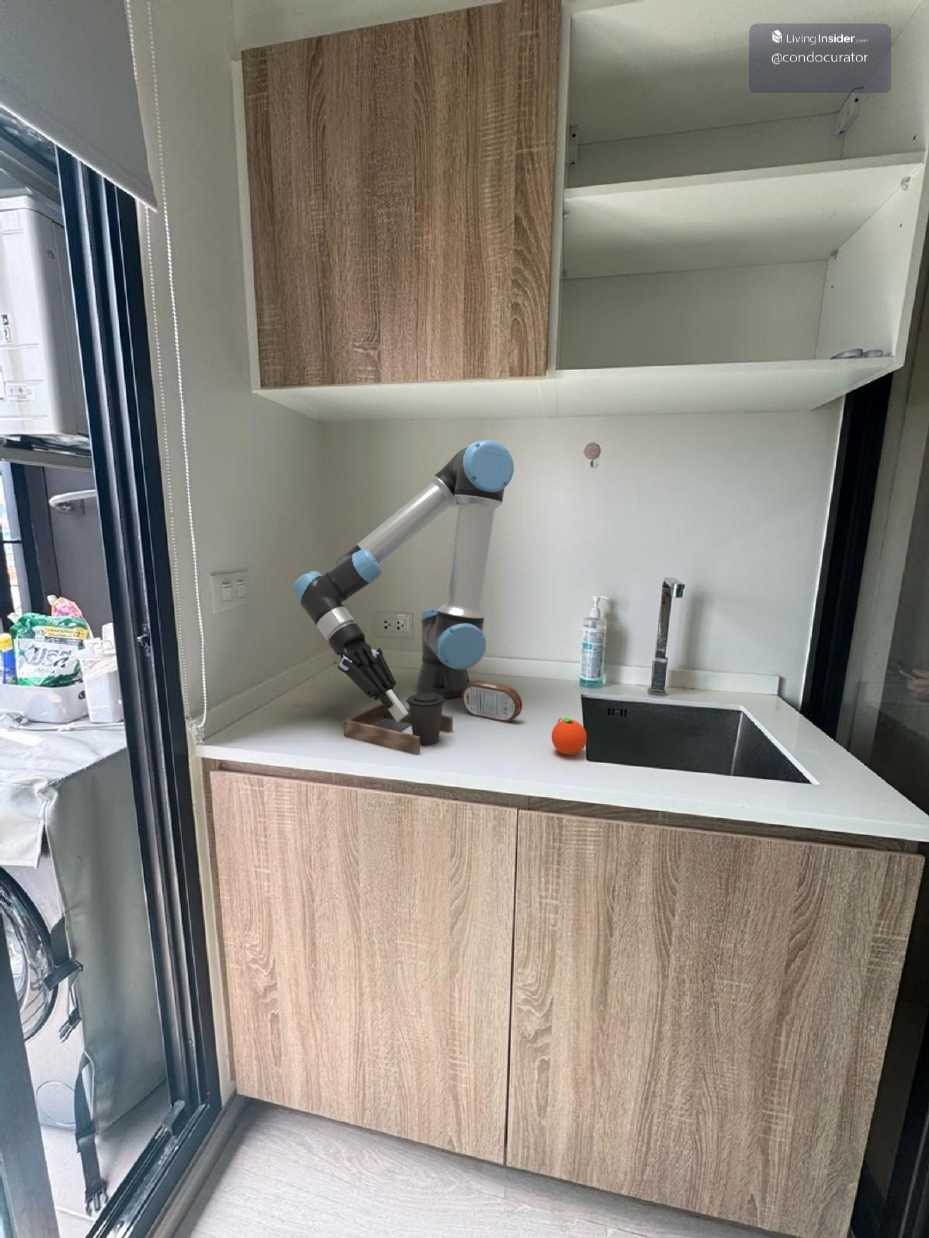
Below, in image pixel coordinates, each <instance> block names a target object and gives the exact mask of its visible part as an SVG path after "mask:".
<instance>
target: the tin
mask: <svg viewBox="0 0 929 1238" xmlns="http://www.w3.org/2000/svg"><path fill="white" fill-rule="evenodd" d="M461 698H462V704H463V706H464V708H465V710H466V711H467V712H468V713H469V714H472V716H474V717H479V718H484V719H489V720H493V721H497V722H502V723H508V722H511V721H513V720H514V719H516V718H517V717H519V715H521V713H522V710H523V702H522V698H521V696H520V694H519V693H518V692H517V690H515V688H513V687H512V686H509V685H504V684H501V683H500V684H498V683H493V682H488V681H485V680H484V681H482V680H473V681H472V682H470V684H469V685H468V686H467V687H466V688H465V689H464V690H463V694H462V696H461Z"/></svg>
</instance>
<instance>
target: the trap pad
mask: <svg viewBox="0 0 929 1238" xmlns="http://www.w3.org/2000/svg"><path fill="white" fill-rule="evenodd" d="M372 725H373V726H377V727H381V728H386V729H390V730H394V731H398V732H403V731H404V730H406V729H407V728H409V727H412V725H411V724H409V723H404V722H400V721H399V722H397V721H395V720H391V719H385V718H384V719H382V720H380V721H378V722H376V723H374V724H372Z"/></svg>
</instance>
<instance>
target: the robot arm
mask: <svg viewBox="0 0 929 1238" xmlns="http://www.w3.org/2000/svg"><path fill="white" fill-rule="evenodd" d="M514 469H515V467H514V460H513V457H512V454H511V453H510V451H509V450H508V449H507V448H506V446H504V445H503V444H502V443H500V442H498V441H495V440H491V439H490V440H489V439H483V440H477V441H475V442H473V443H471V444H470V445H469V446H466V447H465V448H462V449H461V450H459V451H458V452H456V453H455V455H454V456H453V457H451V459H450V460H449V461H448V462H447V463H446V464H445V465H444V466H443V468H441V469H440V470H438V472H437V473H436V474H434V475H433V476H432V477H431V483H430V484H429V485H427V486H426V487H425V488H424V489H423V490H421V491H420V492H418V493H417V495H415V496H414V497H413V498H412V499H410V500H409V501H408V502H407V503H405V505H403V506H401V508H399V509H398V510H397V511H395V513H394V514H392V515H391V516H389V518H388V519H386V520H385V521H384V522H383V523H381V524H380V525H379V526H377V527H376V528H375V529H374V530H373V531H372V532H370V533H369V534H368V535H367V536H366V537H364V538H363V539H362V540H361V541H359V542H358V543H357V544H356V545H355V546H354V547H352V548H351V549H349V551H348V552H346V553H344V554H342V555H341V556H339V557H338V558H337V560H336V562H335V564H334V567H333V568H332V569H331V570H329V571H328V572H326V573H324V574H321V573H320V572H319V571H317V570H313V571H312V570H311V571H309V572H308V573H304V574H302V575H301V576H300V577H299V578H297V579H296V581H295V582H294V585H293V587H292V591H293V594H294V596H295V597H296V598H297V600H298V601H299V603H300V604H299V605H301V606H302V608H303V610H304V611H305V612H306V614H307V615H308V616H309V618H310V619H311V620H312V622H313V623H314V624H315V625H316V627H317V628H318V630H319V631H320V633H321V634H322V635H323V637H324V638H325V639H326V641H328V644H329V646H330V648H331V649H332V651H333V652H334V653H335V654H336V655H337V656H340V659H341V661H340V663H339V664H338V665H337V669H338V670H339V671H340V672H342V673H344V674H346V675H347V677H348V678H350V680H352V682H354V684H355V685H356V686H357V687H358V688H359V689H360V690H361V691H362V692H363V693H364V694H365V695H366V696H367V697H368V698H369V699H372V698H373V700H374V701H377V700H380V703H382V704H383V705H384V707H385V708H386V709H388V710H389V711H390V713H391V714H392V716H393V717H394V718H395V720H396V721H397V722H399V721H401V720H402V719H403V718H404V717H405V716H406V715H408V714H409V713H408V712H407V710H406V709H405V708H404V707H405V706H404V705H403V703H402V702H401V699H400V698H399V696H398V695H397V694H396V692H395V691H394V687H395V686H396V684H397V681H396V679H395V677H394V676H393V673H392V672H391V671H392V670H391V669H390V668H389V665H388V663H387V662H386V659H385V657H384V653H383V649H381V648H377V649H373V648H372V646H370V644H368V643H367V642H366V639H365V638H366V636H365V633H364V632H363V630H362V629H361V628H360V626H359V625H358V623H356V620H355V619H354V617H353V616H352V615H351V613H350V612H349V611H348V610H347V608H346V607H345V605H343V603H344V602H345V601H347V600H348V599H349V598H350V597H352V596H354V595H355V594H356V593H358V592H360V591H361V590H362V589H364V588H365V587H367V586H368V585H370V584H373V583H374V581H375V580H376V579H378V578H379V577H380V576H381V575H382V574H383V569H382V567H381V564H383V563H384V562H385V561H386V560H388V558H390V557H391V556H392V555H393V554H395V552H397V551H398V550H400V549H401V548H402V547H403V546H404V545H406V543H408V542H409V541H410V540H411V539H413V538H414V537H415V536H417V535H418V534H419V533H420V532H421V531H422V530H423V529H425V528H426V527H427V526H428V525H429V524H431V523H432V522H434V521H435V520H436V519H437V518H438V517H440V516H441V515H442V514H443V513H444V512H445V511H447V510H448V509H449V508H450V507H451V508H456V507H458V511H457V518H456V525H455V526H456V527H455V532H454V539H453V545H452V551H451V552H452V553H451V560H450V566H449V567H450V568H449V574H448V579H447V580H448V581H447V586H446V587H447V589H446V594H445V599H444V601H445V602H444V604H442V605H441V606H440V607H437V608H426V609H424V610H423V611H422V612H421V619H420V621H421V666H420V668H419V672H418V675H417V676H418V677H417V680H416V681H415V692H416V694H419V693H431V692H433V693H436V694H439V695H441V696H443V697H444V699H451V698H453V699H454V698H459V697H462V694H463V690H464V689H465V688H466V687H467V686H468V685H469V684H470V683H471V680H470V676H469V673H468V671H467V670H468V669H470V668H472V667H474V666H476V664H478V663H479V662H480V661H481V660H482V659H483V656H484V654H485V653H486V647H487V640H486V637H485V634H484V632H483V631H484V630H483V629H484V622H485V615H484V613H483V612H482V611H481V600H482V593H483V589H484V588H483V587H484V582H485V581H484V580H485V576H486V569H487V561H488V556H489V548H490V543H491V537H492V531H493V524H494V516H495V511H496V510H497V509H498V508H500V506H501V505H503V500H504V493H505V488H506V487H508V485H509V483H510V482H511V480H512V478H513V476H514Z"/></svg>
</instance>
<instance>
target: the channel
mask: <svg viewBox="0 0 929 1238" xmlns="http://www.w3.org/2000/svg"><path fill="white" fill-rule="evenodd" d="M404 708H405V709H406V710H407V712H408V713H409V714H408V715H406V716H405V717H404V718H403V719H402V720H401V721H400V722H404V723H409V724H411V717H410V710H409V706H404ZM385 719H391V720H395V718H394V717H393V716H392V714H391V713H390V711H389V710H388V709H386V708H385V707H384V705H383V704H382V702H380V703H379V704H377V705H375V706H373V707H370V708H368V709H366V710H364V711H362V712H360V713H358V714H355V715H353V716H351V717H349V718H346V719H343V722H342V723H343V725H342V726H343V730H342V731H343V737H344V736H346V737H345V738H348V737H349V739H354V740H356V739H357V741H361V742H366V743H369V744H373V745H375V746H376V745H377V746H381V747H386V748H389V749H392V750H396V751H401V752H403V753H407V754H408V753H409V754H412V755H416V756H418V755H420V754H421V745H420V736H416V735H413V734H410V733H406V732H403V731H400V732H398V731H394V730H390V729H386V728H381V727H377V726H373V725H375V724H377V723H379V722H381V721H383V720H385ZM453 720H454V717H453V715H447V714H443V713H442V716H441V725H440V732H444V733H448V732H451V733H453V729H454V727H453V726H454V724H453ZM395 721H396V720H395ZM419 753H420V754H419Z"/></svg>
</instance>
